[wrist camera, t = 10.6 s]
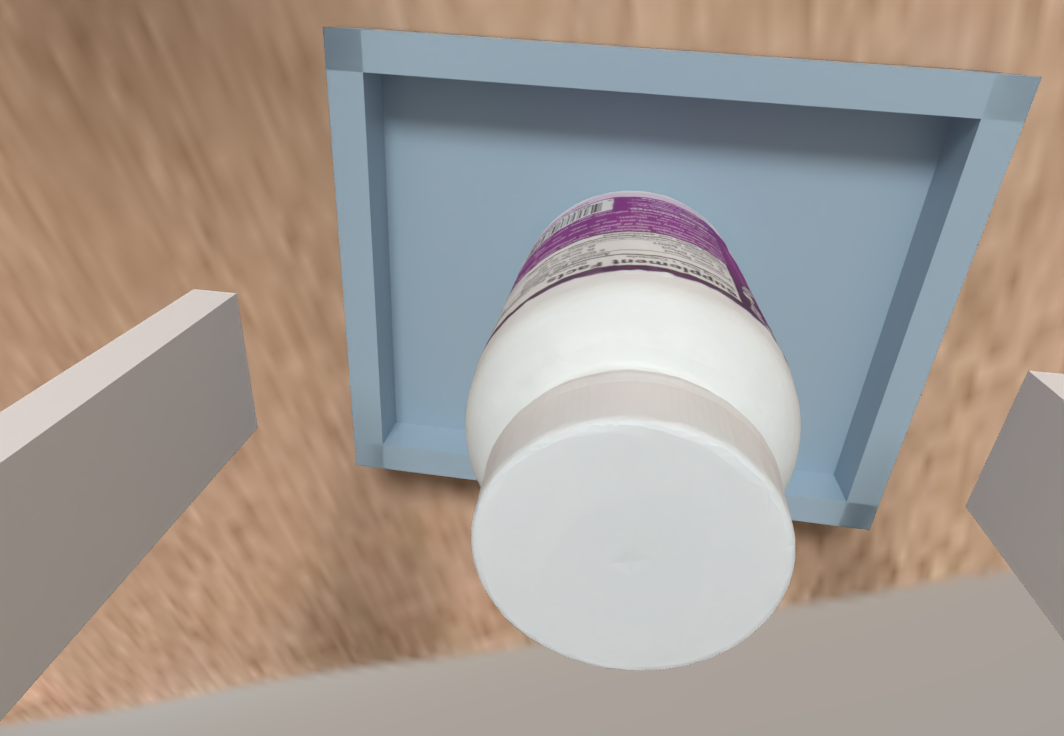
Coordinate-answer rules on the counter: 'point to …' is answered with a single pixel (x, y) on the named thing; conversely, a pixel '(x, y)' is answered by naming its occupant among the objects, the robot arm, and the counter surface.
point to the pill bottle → (633, 442)
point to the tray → (680, 173)
